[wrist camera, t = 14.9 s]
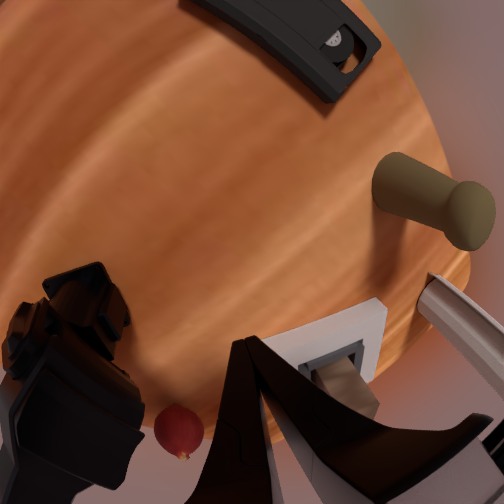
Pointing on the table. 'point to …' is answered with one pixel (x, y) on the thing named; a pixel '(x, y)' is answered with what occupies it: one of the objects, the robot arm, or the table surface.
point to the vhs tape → (302, 37)
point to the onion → (178, 431)
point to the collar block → (336, 340)
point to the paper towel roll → (466, 329)
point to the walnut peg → (346, 386)
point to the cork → (434, 200)
